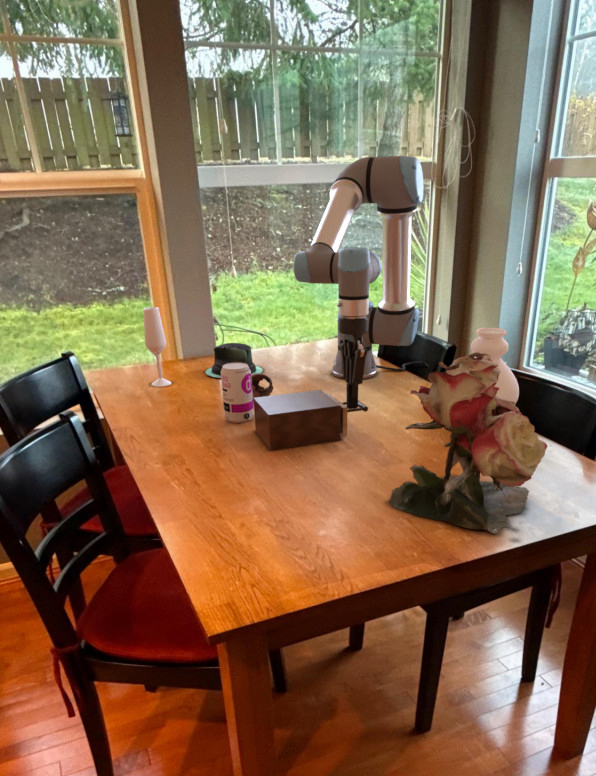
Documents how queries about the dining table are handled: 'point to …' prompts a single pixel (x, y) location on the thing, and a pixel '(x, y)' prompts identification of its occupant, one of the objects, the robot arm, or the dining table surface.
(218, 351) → the dark green rounded hat
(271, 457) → the dining table surface
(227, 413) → the supplement can
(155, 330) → the champagne flute
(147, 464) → the dining table surface
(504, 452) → the rose bouquet
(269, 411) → the cabinet
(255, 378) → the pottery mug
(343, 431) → the drawer
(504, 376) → the decorative vase
